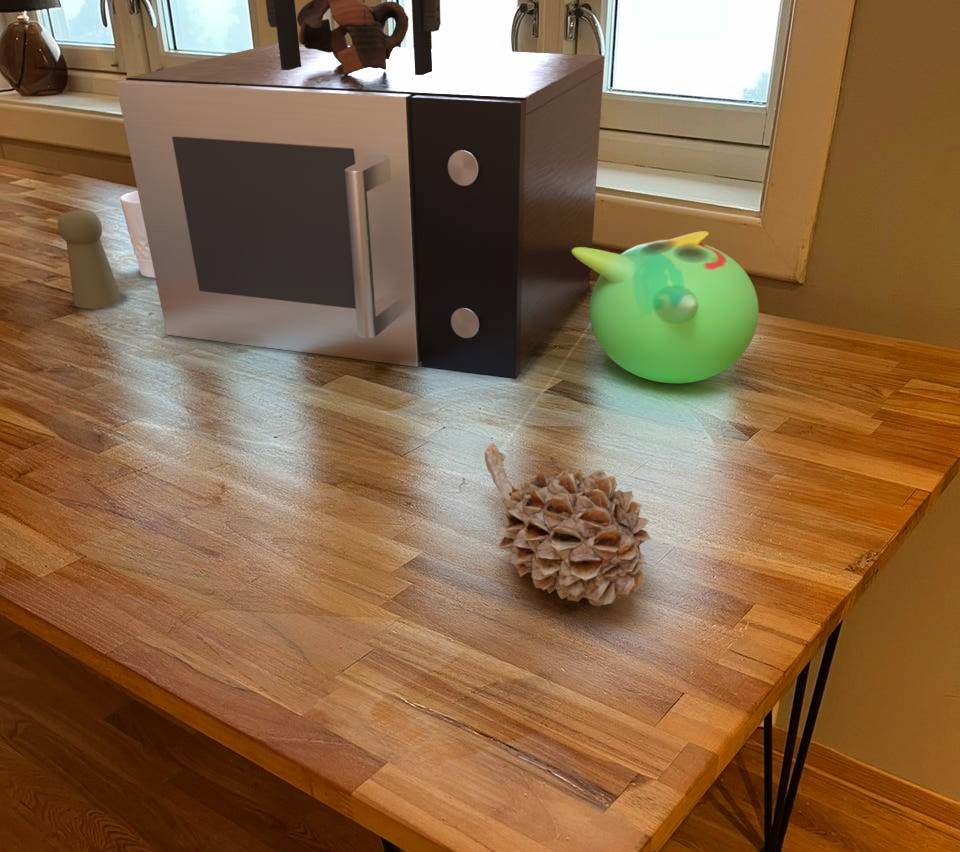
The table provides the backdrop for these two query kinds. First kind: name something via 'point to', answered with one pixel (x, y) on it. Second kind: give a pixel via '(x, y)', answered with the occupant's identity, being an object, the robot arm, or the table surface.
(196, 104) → the microwave door
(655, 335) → the toy bird
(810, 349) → the table surface
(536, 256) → the microwave
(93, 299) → the tan game pawn
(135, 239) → the white cup
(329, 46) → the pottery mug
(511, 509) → the pine cone
